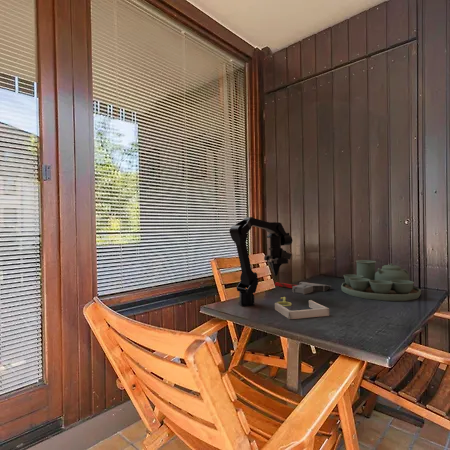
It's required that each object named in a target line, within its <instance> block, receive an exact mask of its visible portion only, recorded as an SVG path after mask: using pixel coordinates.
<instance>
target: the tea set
mask: <svg viewBox="0 0 450 450" xmlns="http://www.w3.org/2000/svg"><path fill="white" fill-rule="evenodd" d="M355 262H356V274H351V273H350V274H343V277H344V282H342V284H341V286H340V289H341V292H343V293H345V294H347V295H348V296H352V297H357V298H361V299H365V300H366V299H367V300H376V301H384V302H385V301H386V302H387V301H389V302H390V301H391V302H402V301H403V302H406V301H412V300H417V299H419V298H420V296H421V294H422V289H420V288H418V287H417V286H414V285H415V281H412V280H410V274H409V271H408V270H407V269H406V268H403V269H402V267H401V266H400V265H395V264H394V263H389V264H384V265H382V266H381V268H379V267H378V268H377V271H376V264H377V261H376V260H366V259H359V260H358V259H357V260H355Z"/></svg>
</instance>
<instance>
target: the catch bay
mask: <svg viewBox="0 0 450 450" xmlns="http://www.w3.org/2000/svg"><path fill="white" fill-rule="evenodd" d="M282 305H283V304H281V305H280V304H278V303H277V302H275V303H274V310H275V311H277V312H278V313H279V314H281V315H282V316H283V317H286V318H287V319H288V320H295V319H307V318H316V317H317V318H318V317H319V318H320V317H329V316H330V308H329V307H327V306H324V305H322V304H320V303H318V302H316V301H314V300H312V299H310V300H308V307H309V308H310V309H301V310H300V309H298V310H291V309H288V308H287V307H286V306H282Z"/></svg>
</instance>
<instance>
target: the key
mask: <svg viewBox="0 0 450 450" xmlns="http://www.w3.org/2000/svg"><path fill="white" fill-rule="evenodd" d="M286 299H287V297H286V296H283V297H280V300H282V301H277V302H276V303H278V304H280V305H282V306H283V307H291V306H292V305H293V304H292V302H290V301H286Z"/></svg>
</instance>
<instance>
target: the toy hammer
mask: <svg viewBox="0 0 450 450" xmlns="http://www.w3.org/2000/svg"><path fill="white" fill-rule="evenodd" d="M274 285H275V287H282V288H289V289H291V290H292V292H293V293H292V294H298V295H306V294H310V293H313V292H327V291H328V290H329V289H331V288H332V285H327V284H321V283H313V282H306V281H299V283H298V284H294V283H293V284H292V283H285V282H275V283H274Z"/></svg>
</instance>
